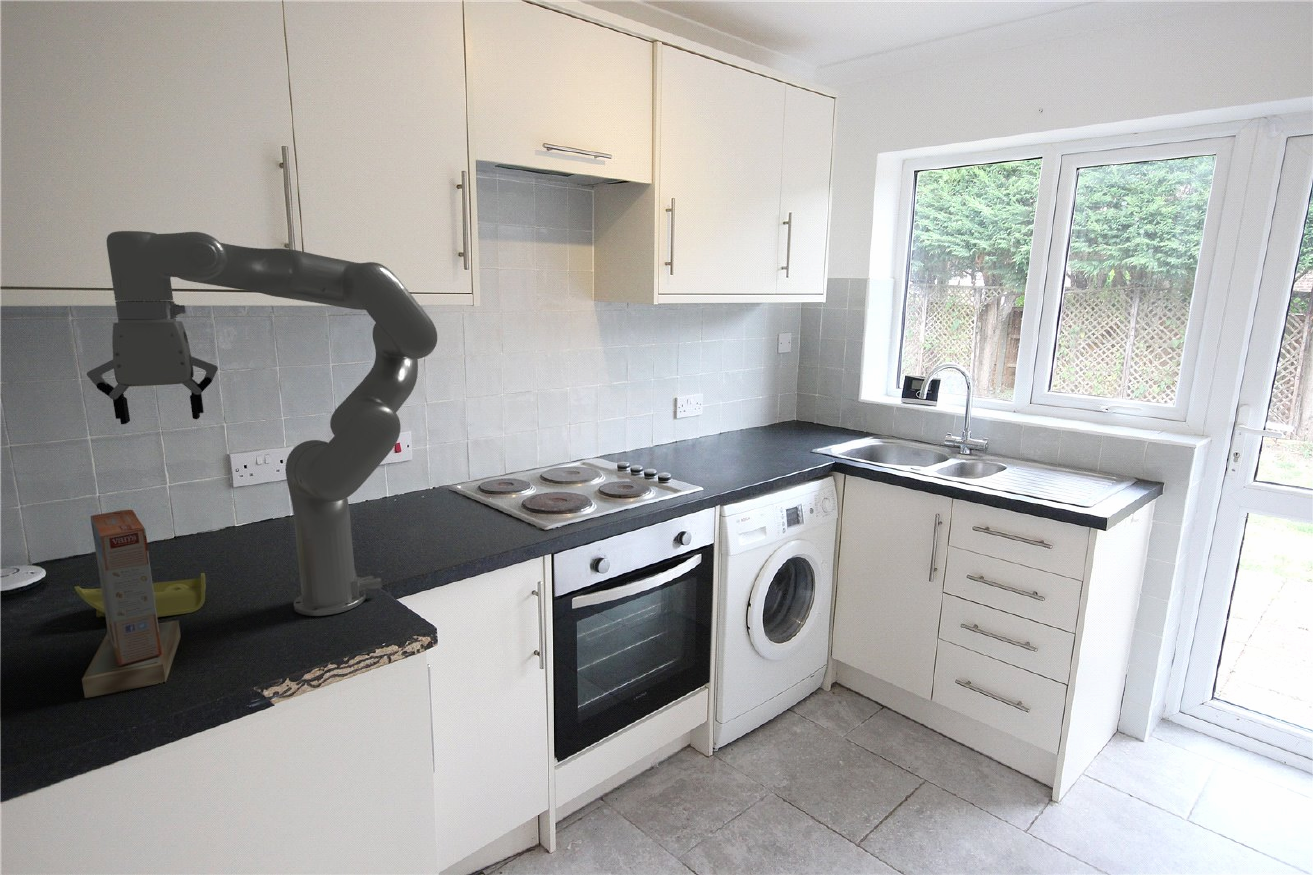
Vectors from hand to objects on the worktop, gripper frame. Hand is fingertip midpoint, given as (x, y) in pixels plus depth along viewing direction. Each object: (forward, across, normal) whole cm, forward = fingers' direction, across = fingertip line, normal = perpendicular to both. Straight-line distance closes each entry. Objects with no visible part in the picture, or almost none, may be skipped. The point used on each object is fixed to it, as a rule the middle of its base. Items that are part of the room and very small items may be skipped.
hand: (161, 420), depth 118 cm
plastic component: (+39, +9, -19) cm, 44 cm away
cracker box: (+35, +7, +6) cm, 36 cm away
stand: (+38, +7, +6) cm, 39 cm away
